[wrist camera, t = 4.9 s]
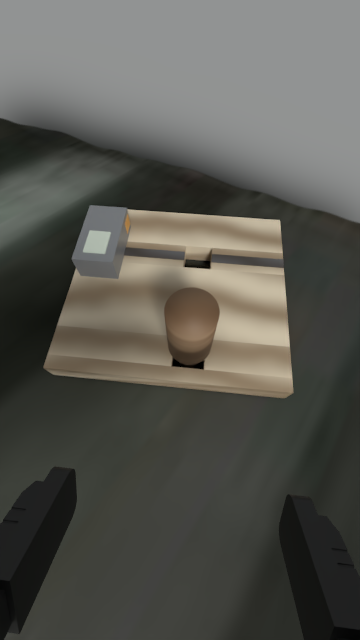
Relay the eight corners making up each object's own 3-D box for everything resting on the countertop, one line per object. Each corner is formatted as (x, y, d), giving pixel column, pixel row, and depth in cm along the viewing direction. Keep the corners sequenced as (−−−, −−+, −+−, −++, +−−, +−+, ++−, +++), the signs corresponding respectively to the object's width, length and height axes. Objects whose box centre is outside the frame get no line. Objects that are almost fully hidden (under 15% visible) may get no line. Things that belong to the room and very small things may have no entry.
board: (284, 398, 28) (293, 392, 26) (53, 374, 30) (42, 367, 27) (274, 234, 38) (280, 219, 36) (101, 221, 39) (96, 206, 37)
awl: (205, 380, 29) (218, 338, 19) (167, 376, 29) (160, 333, 19) (208, 344, 31) (220, 289, 21) (172, 341, 31) (167, 285, 21)
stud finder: (118, 279, 32) (112, 261, 29) (80, 275, 32) (70, 258, 29) (131, 226, 36) (127, 206, 33) (96, 224, 36) (89, 204, 33)
